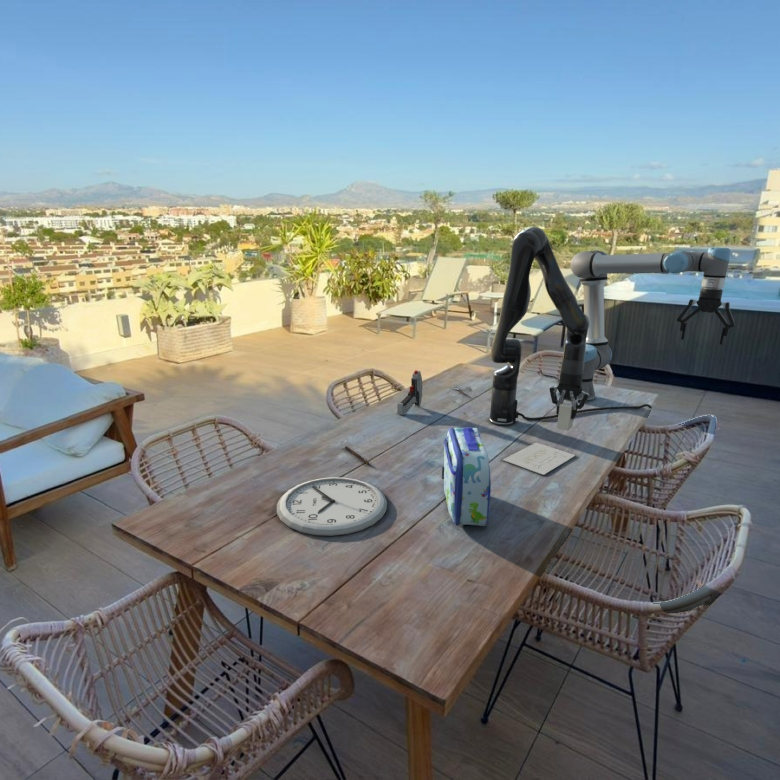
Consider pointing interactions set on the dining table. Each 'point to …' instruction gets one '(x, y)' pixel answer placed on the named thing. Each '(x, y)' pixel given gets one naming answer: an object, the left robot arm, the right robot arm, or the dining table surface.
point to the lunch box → (466, 477)
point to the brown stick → (357, 455)
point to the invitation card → (539, 458)
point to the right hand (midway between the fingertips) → (701, 341)
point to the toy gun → (412, 394)
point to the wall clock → (331, 506)
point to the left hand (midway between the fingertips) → (565, 416)
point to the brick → (565, 416)
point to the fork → (458, 389)
